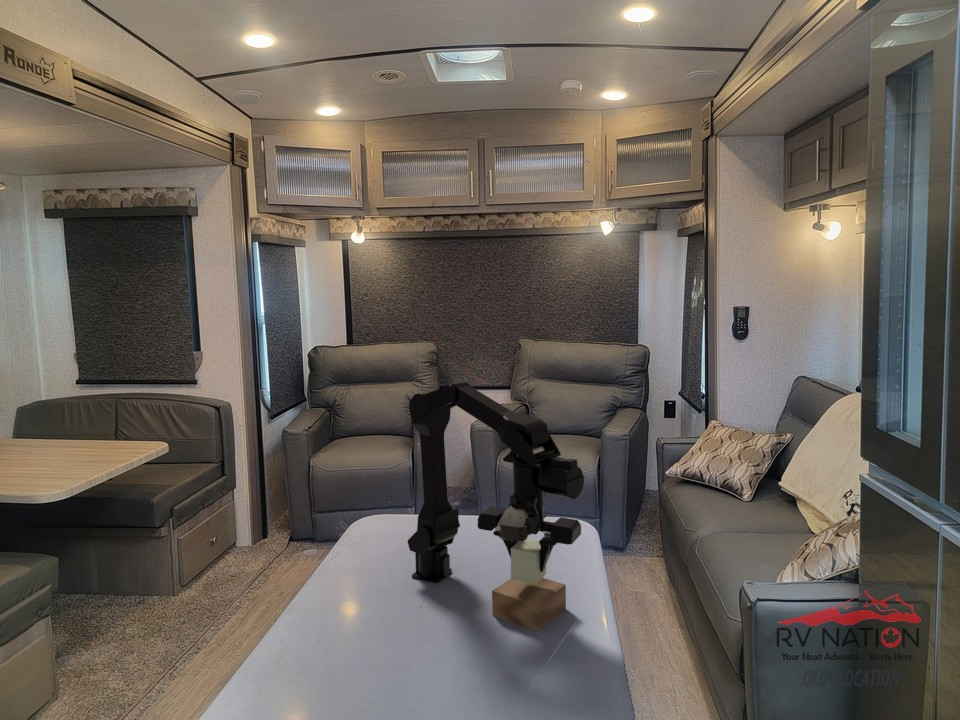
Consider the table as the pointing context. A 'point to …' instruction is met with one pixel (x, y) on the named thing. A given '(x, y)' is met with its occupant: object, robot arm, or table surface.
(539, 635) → the table surface
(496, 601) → the walnut block
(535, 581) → the sage block
